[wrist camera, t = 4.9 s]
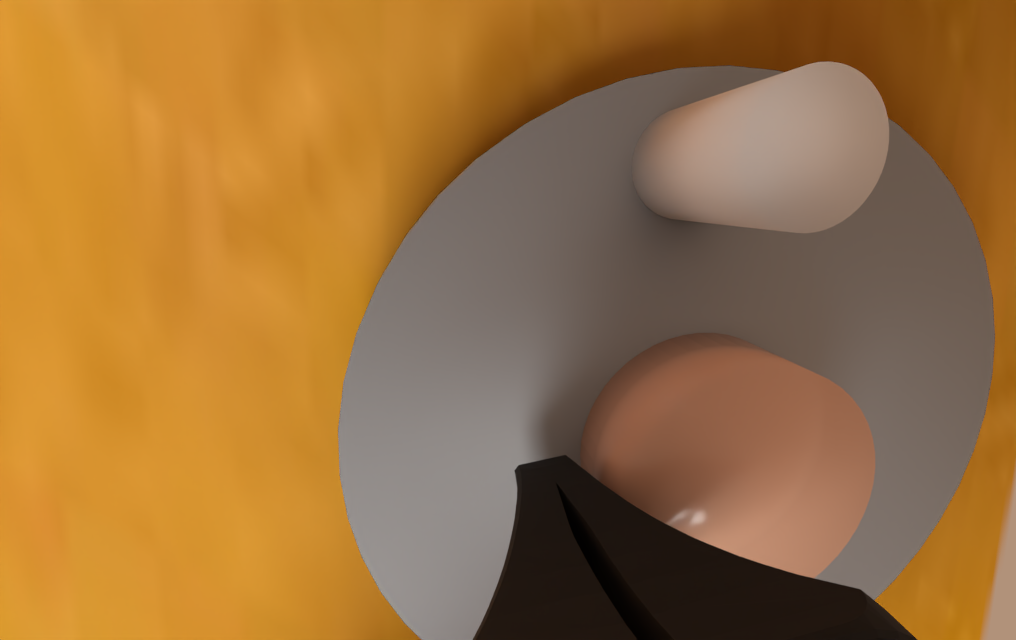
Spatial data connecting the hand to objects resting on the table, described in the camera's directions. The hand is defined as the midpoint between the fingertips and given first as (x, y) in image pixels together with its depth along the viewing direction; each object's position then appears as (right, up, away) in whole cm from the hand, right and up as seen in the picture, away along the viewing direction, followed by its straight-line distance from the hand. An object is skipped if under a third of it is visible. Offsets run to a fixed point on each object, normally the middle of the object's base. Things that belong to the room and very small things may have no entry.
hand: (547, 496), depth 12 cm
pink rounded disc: (+4, +1, +1) cm, 4 cm away
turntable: (+4, +1, +3) cm, 5 cm away
